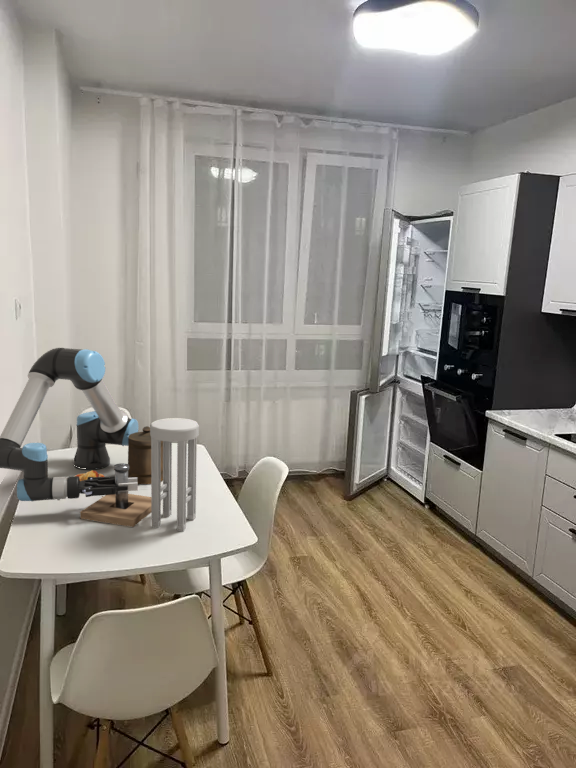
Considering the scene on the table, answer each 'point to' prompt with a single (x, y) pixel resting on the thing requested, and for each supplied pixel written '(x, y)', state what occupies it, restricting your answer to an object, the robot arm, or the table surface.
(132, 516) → the keeper block
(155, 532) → the table surface
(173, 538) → the table surface
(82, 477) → the croissant
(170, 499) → the stool
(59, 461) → the table surface
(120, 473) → the link pin
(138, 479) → the wooden container
